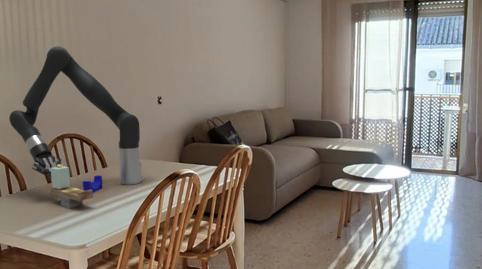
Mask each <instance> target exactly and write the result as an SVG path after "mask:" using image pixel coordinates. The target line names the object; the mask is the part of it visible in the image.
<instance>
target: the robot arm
mask: <svg viewBox="0 0 482 269" xmlns="http://www.w3.org/2000/svg"><path fill="white" fill-rule="evenodd" d="M60 73H63V74H64V75H65V76H66V77H67V78H68V79H69V80H70V81H71V82H72V84H73V85H74V86H75V88H76V89H77V90H78V91H79V93H81V95H83V97H84V98H86V99H87V100H88V102H90V103H91V104H92V105H93V106H94V107H96V108H97V109H99V110H100V111H101V112H102V113H104V114H105V115H106V116H107V117H108V118H109V119H110V120H111V122H112V123H114V125H115V126H116V127H117V129H118V130H119V141H118V153H119V154H118V155H119V156H118V157H119V158H118V159H119V175H120V176H119V178H120V184H121V185H137V184H139V183H141V182H142V181H143V176H142V162H141V161H140V147H139V146H140V138H141V137H140V121H139V119H138V118H137V116H135V115H134V114H132V113H129V111H127V110H125V109H124V108H123V107H122V106H120V105H119V104H118V102H117V101H116V100H115V99H114V97H113V96H112V94H111V93H110V92H109V91H108V89H107V88H106V87H105V86H104V85H103V84H102V83H101V82H99V81H98V80H97V79H96V78H95V77H94V76H92V75H91V73H89V72H88V71H86V70H85V69H84V68H82V66H81V65H80V64H79V63H78V62H77V61H76V60H75V59H74V58H73V57H72V55H71V53H69V51H68V50H67V49H66V48H65V47H63V46H58V45H57V46H53V47H51V48H50V49H49V50H48V51H47V53H46V58H45V61H44V64H43V66H42V69H41V71H40V73H39V75H38V76H37V78H36V79H35V80H34V82H33V84H32V85H31V87H30V88H29V90H28V92H27V93H26V94H25V95H26V96H25V97H24V99H23V101H22V105H23V106H24V107H25V108H26V110H25V111H23V110H22V111H21V110H13V111H12V112H11V113H10V115H9V123H10V125H11V127H12V128H13V129H14V130H15V131H16V132H17V134H19V135H20V137H21V138H22V140H23V142H24V143H25V145H26V148H27V150H28V152H29V153H30V156H31V157H32V159H33V161H34V163H33V165H32V166H31V169H33V171H36V172H38V173H40V174H41V175H47V176H48V177H49V178H50V180H51V181H52V179H51V168H54V167H57V165H58V164H61V163H62V159H61V158H58V159H57V158H56V157H55V156H54V155H53V153H52V150H51V149H50V147H49V145H48V144H47V142H46V140H45V138H44V137H43V136H42V134H41V133H40V131H39V130H38V128H37V127H36V126H34V125H35V124H36V121H37V119H38V118H37V117H38V114H39V109H40V107H41V106H42V104H43V102H44V100H45V99H46V97H47V95H48V93H49V91H50V89H51V87H52V85H53V83H54V82H55V80H56V79H57V77H58V75H59V74H60Z"/></svg>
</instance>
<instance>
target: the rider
mask: <svg viewBox="0 0 482 269" xmlns="http://www.w3.org/2000/svg"><path fill="white" fill-rule="evenodd" d="M51 179H52V180H51ZM70 179H71V178H70V167H68V166H65V165H64V166H63V164H58V165H57V167H56V166H54V168H51V178H50V180H51V188H57V189H61V188H66V187H71V181H70Z"/></svg>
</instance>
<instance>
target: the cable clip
mask: <svg viewBox="0 0 482 269" xmlns="http://www.w3.org/2000/svg"><path fill="white" fill-rule="evenodd" d="M82 188H83V189H82V190H84V191H87V190H92V193H93V194H95V193H96V192H98V191H99V190H102V189H103V176H102V175H99V174H98V175H93V181H91V180H84V181H82Z"/></svg>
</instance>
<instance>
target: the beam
mask: <svg viewBox="0 0 482 269" xmlns="http://www.w3.org/2000/svg"><path fill="white" fill-rule="evenodd" d="M49 190H50V194H53V195H56V196H59V198H60V206H61V207H65V208H67V209H72V208H76V207H79V206H82V205H83V204H84V203H83V201H85V200H88V199H89V200H90V199H93V198H94V196H93V195H94V193H92V190H87V191H84V190H83V189H80V188H76V187H71V186H70V187H66V188H61V189H57V188H53V187H51V188H50V189H49Z"/></svg>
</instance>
